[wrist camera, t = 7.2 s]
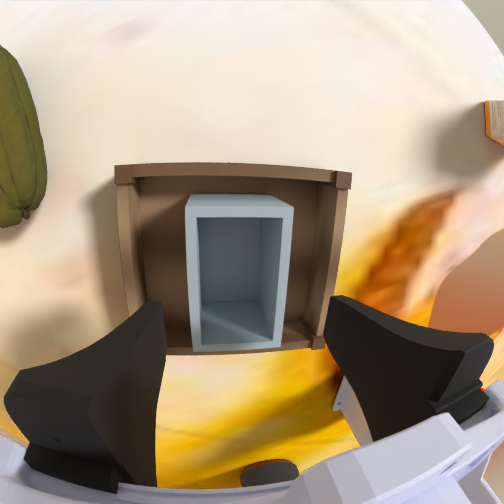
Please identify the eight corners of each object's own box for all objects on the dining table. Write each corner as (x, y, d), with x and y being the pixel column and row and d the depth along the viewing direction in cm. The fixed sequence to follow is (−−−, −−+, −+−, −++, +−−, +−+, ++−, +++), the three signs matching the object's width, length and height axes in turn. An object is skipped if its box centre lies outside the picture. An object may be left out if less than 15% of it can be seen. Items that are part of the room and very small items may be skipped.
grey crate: (262, 302, 20) (280, 346, 15) (194, 304, 20) (193, 351, 14) (268, 193, 18) (293, 207, 13) (191, 193, 17) (185, 206, 12)
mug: (221, 484, 31) (230, 542, 21) (257, 455, 29) (274, 526, 18) (266, 486, 34) (280, 538, 23) (306, 457, 31) (329, 518, 21)
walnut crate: (307, 321, 22) (324, 348, 19) (145, 327, 20) (136, 356, 17) (325, 169, 19) (351, 172, 15) (132, 164, 16) (114, 165, 13)
